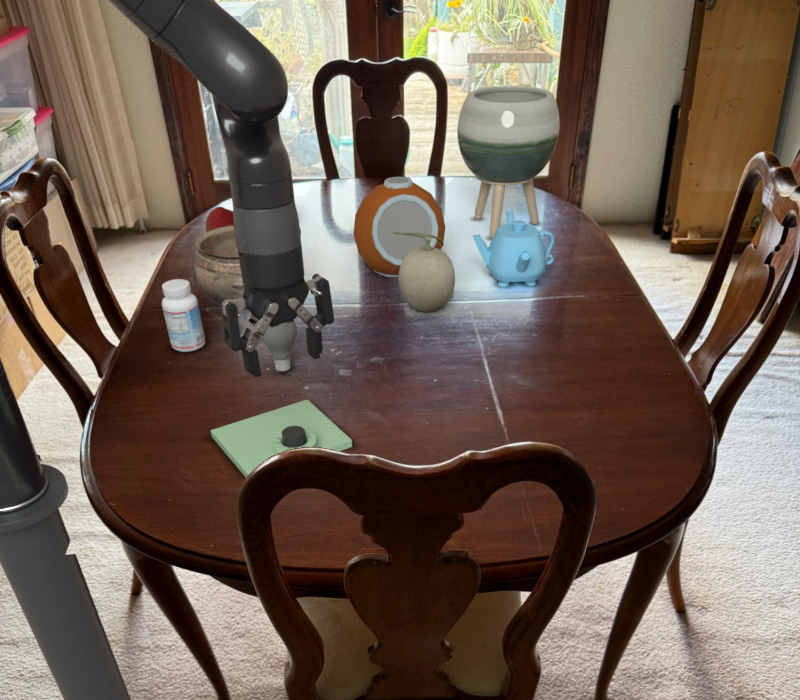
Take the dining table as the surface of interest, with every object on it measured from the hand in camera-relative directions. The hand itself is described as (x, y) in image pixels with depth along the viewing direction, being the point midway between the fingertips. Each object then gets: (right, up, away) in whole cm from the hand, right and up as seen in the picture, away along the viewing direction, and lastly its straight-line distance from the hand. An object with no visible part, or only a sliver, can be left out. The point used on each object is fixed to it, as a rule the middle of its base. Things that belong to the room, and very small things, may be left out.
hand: (285, 365), depth 102 cm
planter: (+39, +50, +82) cm, 104 cm away
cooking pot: (-14, +23, +51) cm, 58 cm away
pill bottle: (-23, +11, +37) cm, 45 cm away
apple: (-25, +45, +77) cm, 93 cm away
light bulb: (-5, +5, +29) cm, 30 cm away
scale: (-2, -9, +12) cm, 15 cm away
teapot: (+38, +30, +58) cm, 75 cm away
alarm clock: (+15, +35, +64) cm, 75 cm away
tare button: (0, -9, +7) cm, 12 cm away
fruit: (+20, +21, +48) cm, 56 cm away
